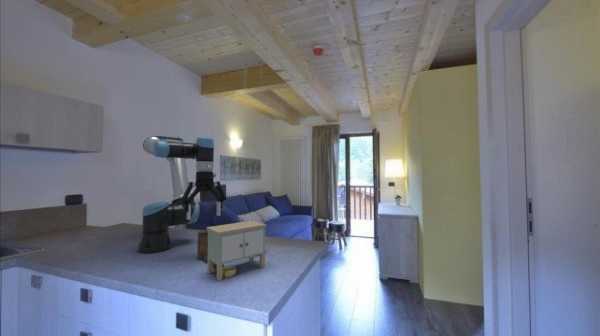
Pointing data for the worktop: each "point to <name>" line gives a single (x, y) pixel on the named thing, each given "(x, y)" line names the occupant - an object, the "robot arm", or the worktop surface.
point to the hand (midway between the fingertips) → (204, 217)
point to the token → (228, 271)
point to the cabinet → (235, 244)
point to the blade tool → (204, 247)
